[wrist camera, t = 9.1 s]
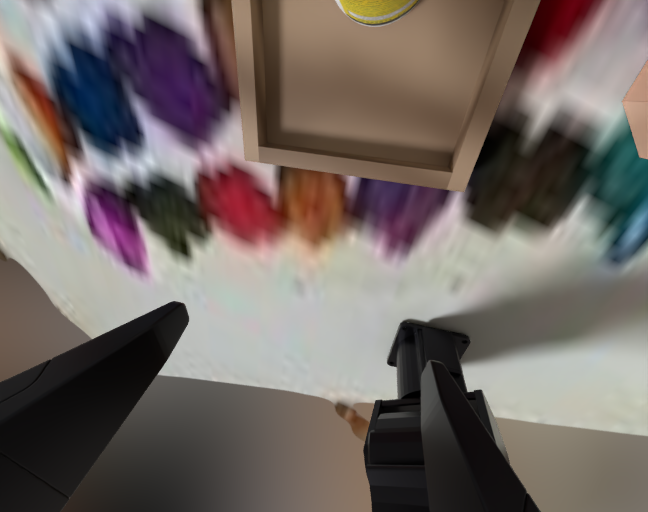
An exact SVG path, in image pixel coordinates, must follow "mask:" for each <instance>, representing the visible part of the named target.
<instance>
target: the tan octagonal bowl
mask: <svg viewBox="0 0 648 512" xmlns="http://www.w3.org/2000/svg"><path fill="white" fill-rule="evenodd" d="M622 103H623V106H624V109H625V112H626V115H627V119H628V122H629V125H630V128H631V131H632V135H633V138H634V141H635V144H636V147H637V150H638V154H639V157H641V158H645V159H648V60H647V62H646V64H645V65H644V67H643V68H642V70H641V72H640V73H639V75H638V76H637V78H636V80H635V81H634V83H633V84H632V86H631V88H630V89H629V91H628V92H627V94H626V96H625V97H624V99H623V100H622Z"/></svg>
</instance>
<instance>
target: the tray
mask: <svg viewBox="0 0 648 512" xmlns="http://www.w3.org/2000/svg"><path fill="white" fill-rule="evenodd" d="M539 3H540V0H420V1H419V3H418V4H417V5H416V6H415V7H414V8H413V9H412V10H411V11H410V12H409V13H408V14H406V15H405V16H404V17H402V18H401V19H399V20H398V21H396V22H394V23H391V24H388V25H385V26H380V27H369V26H364V25H361V24H359V23H357V22H355V21H353V20H352V19H350V18H349V17H348V16H347V15H346V14H345V13H344V12H343V11H342V10H341V9H340V7H339V6H338V5H337V3H336V1H335V0H232V12H233V24H234V36H235V48H236V60H237V71H238V83H239V95H240V107H241V119H242V131H243V143H244V155H245V160H246V161H253V162H260V163H267V164H273V165H280V166H287V167H294V168H301V169H308V170H315V171H322V172H329V173H335V174H342V175H349V176H356V177H363V178H370V179H377V180H384V181H391V182H398V183H404V184H411V185H418V186H425V187H432V188H439V189H446V190H453V191H460V192H464V191H465V188H466V186H467V183H468V181H469V178H470V176H471V173H472V171H473V168H474V166H475V163H476V161H477V158H478V156H479V153H480V151H481V148H482V146H483V143H484V141H485V138H486V136H487V133H488V131H489V128H490V126H491V123H492V121H493V118H494V116H495V113H496V111H497V108H498V106H499V103H500V101H501V98H502V96H503V93H504V91H505V88H506V86H507V83H508V81H509V78H510V76H511V73H512V70H513V68H514V65H515V63H516V60H517V58H518V55H519V53H520V50H521V48H522V45H523V43H524V40H525V38H526V35H527V33H528V30H529V28H530V25H531V23H532V20H533V18H534V15H535V13H536V10H537V8H538V5H539Z"/></svg>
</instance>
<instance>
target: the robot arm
mask: <svg viewBox="0 0 648 512" xmlns="http://www.w3.org/2000/svg"><path fill="white" fill-rule="evenodd" d="M188 322H189V316H188V312H187V309H186V306H185V304H184V303H181V302H176V301H173V302H170V303H168V304H166V305H164V306H161V307H159V308H157V309H155V310H153V311H151V312H149V313H147V314H145V315H143V316H140V317H138V318H136V319H134V320H132V321H130V322H128V323H126V324H124V325H121V326H119V327H117V328H115V329H113V330H111V331H109V332H107V333H105V334H102V335H100V336H98V337H96V338H94V339H92V340H90V341H88V342H86V343H83V344H81V345H79V346H77V347H75V348H73V349H71V350H69V351H67V352H65V353H62V354H60V355H58V356H56V357H54V358H53V359H52V360H47V361H46V362H43V363H41V364H39V365H37V366H35V367H33V368H30V369H28V370H26V371H24V372H22V373H20V374H17V375H15V376H13V377H11V378H9V379H6V380H4V381H2V382H0V512H61V510H62V509H63V507H64V506H65V505H66V503H67V502H68V500H69V498H70V497H71V496H72V494H73V493H74V491H75V490H76V489H77V487H78V486H79V484H80V483H81V482H82V480H83V479H84V477H85V476H86V475H87V473H88V472H89V470H90V469H91V467H92V466H93V465H94V463H95V462H96V460H97V459H98V458H99V456H100V455H101V453H102V452H103V451H104V449H105V448H106V446H107V445H108V444H109V442H110V441H111V439H112V437H113V436H114V435H115V434H116V432H117V431H118V429H119V428H120V427H121V425H122V424H123V422H124V421H125V419H126V418H127V417H128V415H129V414H130V412H131V411H132V410H133V408H134V406H135V405H136V404H137V402H138V401H139V400H140V398H141V397H142V395H143V394H144V392H145V391H146V390H147V388H148V387H149V385H150V384H151V383H152V381H153V380H154V378H155V377H156V376H157V374H158V373H159V371H160V370H161V368H162V367H163V366H164V364H165V363H166V361H167V359H168V358H169V356H170V355H171V353H172V351H173V349H174V348H175V346H176V344H177V342H178V341H179V339H180V337H181V335H182V334H183V332H184V330H185V328H186V327H187V325H188ZM404 327H406V328H404ZM469 344H470V339H469V337H468V336H467V335H463V334H458V333H454V332H449V331H444V330H440V329H435V328H430V327H425V326H421V325H416V324H411V323H407V322H403V323H400V325H399V328H398V331H397V333H396V336H395V339H394V342H393V344H392V347H391V350H390V353H389V355H388V358H387V364H388V365H390V366H394V367H397V389H398V399H394V400H384V401H383V400H376V401H375V405H374V409H373V413H372V417H371V421H370V425H369V428H368V432H367V436H366V441H365V445H364V450H363V451H364V458H365V459H364V460H365V468H366V473H367V477H368V480H369V484H370V492H371V501H372V512H541V511H540V510H539V508H538V507H537V505H536V504H535V502H534V501H533V499H532V498H531V496H530V495H529V494H528V493H527V491H526V489H525V487H524V486H523V484H522V483H521V481H520V480H519V478H518V476H517V475H516V473H515V472H514V470H513V469H512V467H511V466H510V462H509V458H508V454H507V451H506V448H505V445H504V442H503V439H502V436H501V434H500V431H499V428H498V425H497V422H496V420H495V418H494V415H493V413H492V411H491V409H490V407H489V405H488V402H487V400H486V398H485V396H484V394H483V391H482V390H474V392H467V388H466V384H465V380H464V376H463V371H462V367H461V363H460V359H461V357H462V355H463V354H464V352H465V351H466V349H467V347H468V346H469Z"/></svg>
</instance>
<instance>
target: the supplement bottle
mask: <svg viewBox="0 0 648 512" xmlns="http://www.w3.org/2000/svg"><path fill="white" fill-rule="evenodd" d="M335 1H336V3H337V5H338V6H339V7H340V9H341V10H342V11H343V12H344V13H345V14H346V15H347V16H348V17H349V18H350V19H352V20H353V21H355V22H357V23H359V24H361V25H364V26H369V27H380V26H385V25H388V24H391V23H394V22H396V21H398V20H399V19H401V18H402V17H404V16H405V15H406V14H408V13H409V12H410V11H411V10H412V9H413V8H414V7H415V6H416V5H417V4H418V3H419V1H420V0H335Z"/></svg>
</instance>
